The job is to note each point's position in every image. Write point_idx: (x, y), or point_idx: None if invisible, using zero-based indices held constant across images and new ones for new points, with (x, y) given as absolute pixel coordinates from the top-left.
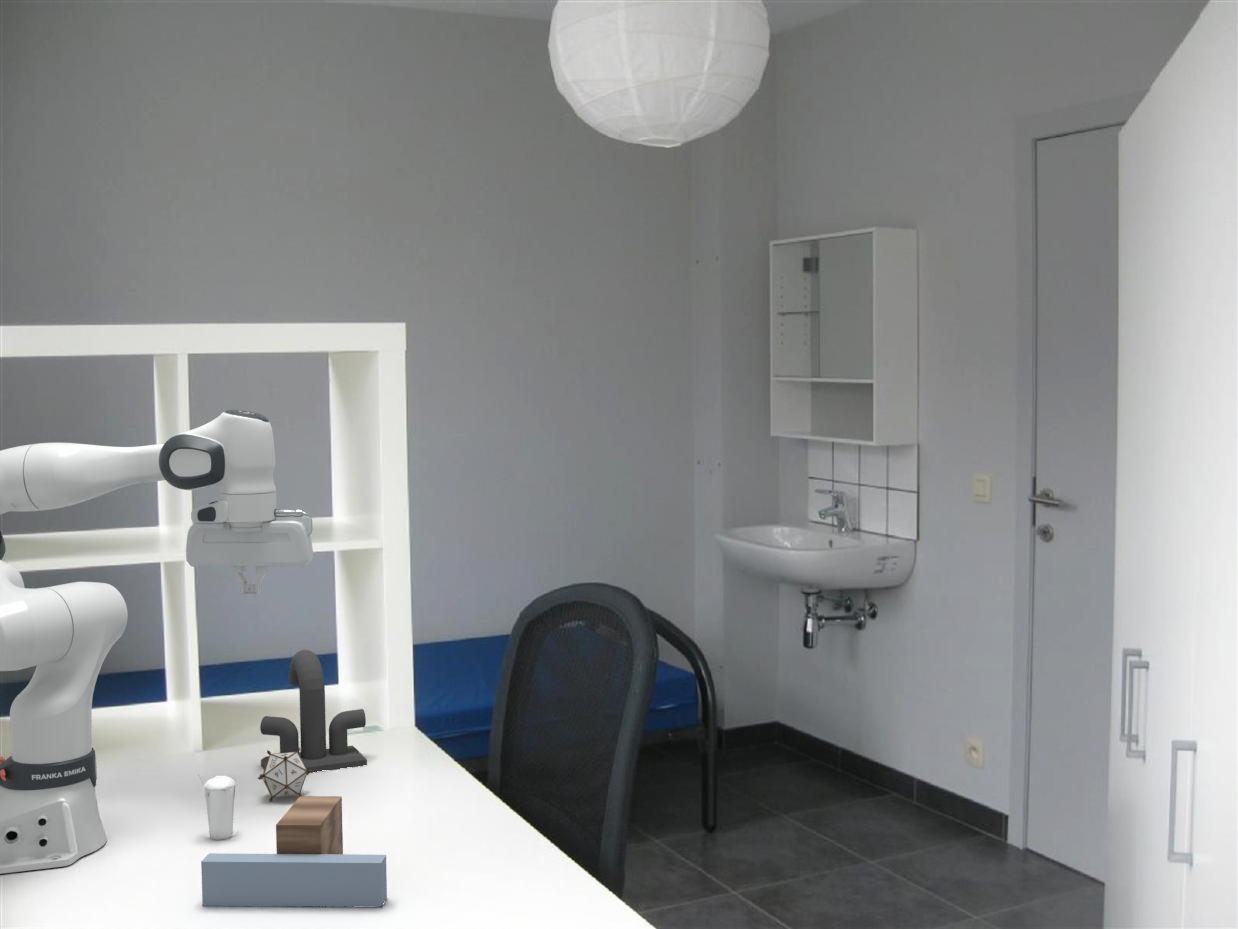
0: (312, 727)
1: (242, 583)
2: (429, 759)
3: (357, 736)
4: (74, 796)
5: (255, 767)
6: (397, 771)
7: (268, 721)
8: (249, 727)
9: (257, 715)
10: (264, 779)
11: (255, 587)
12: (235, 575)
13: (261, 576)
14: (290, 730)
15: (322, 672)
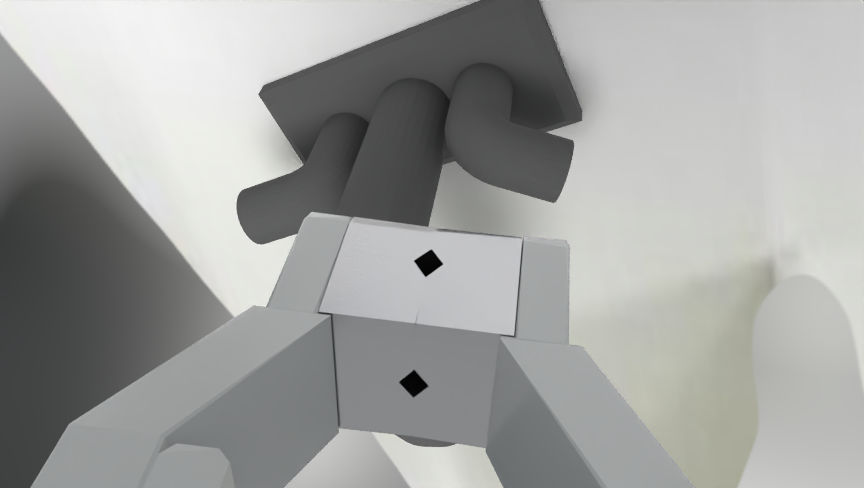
0: (388, 133)
1: (533, 341)
2: (111, 123)
3: None
4: None
5: (596, 97)
6: (155, 23)
7: (542, 157)
8: (660, 407)
9: None
10: None
11: (322, 263)
12: (665, 472)
13: (149, 387)
14: (462, 121)
15: None
